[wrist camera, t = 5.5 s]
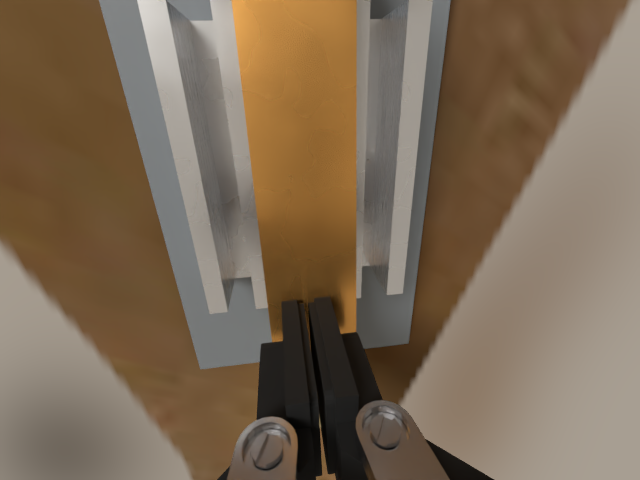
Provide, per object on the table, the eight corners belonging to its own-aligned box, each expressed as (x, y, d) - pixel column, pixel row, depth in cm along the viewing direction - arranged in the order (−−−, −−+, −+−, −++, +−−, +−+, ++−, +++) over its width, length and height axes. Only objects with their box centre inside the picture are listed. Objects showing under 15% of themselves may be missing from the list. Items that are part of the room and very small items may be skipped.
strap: (219, -136, 7) (208, -184, 6) (346, -130, 7) (359, -175, 6) (279, 382, 13) (279, 407, 12) (350, 373, 13) (357, 396, 12)
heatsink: (164, 29, 11) (113, -1, 8) (400, 26, 12) (451, -1, 9) (213, 264, 16) (195, 315, 12) (384, 249, 17) (415, 292, 13)
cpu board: (45, -249, 9) (-481, -1036, 3) (463, -217, 10) (749, -692, 4) (203, 356, 19) (169, 482, 13) (402, 332, 21) (458, 436, 14)
